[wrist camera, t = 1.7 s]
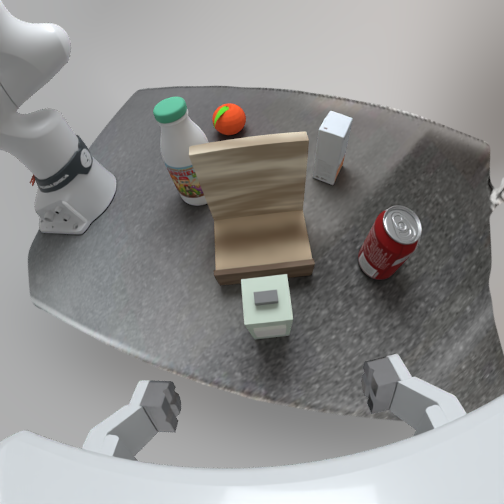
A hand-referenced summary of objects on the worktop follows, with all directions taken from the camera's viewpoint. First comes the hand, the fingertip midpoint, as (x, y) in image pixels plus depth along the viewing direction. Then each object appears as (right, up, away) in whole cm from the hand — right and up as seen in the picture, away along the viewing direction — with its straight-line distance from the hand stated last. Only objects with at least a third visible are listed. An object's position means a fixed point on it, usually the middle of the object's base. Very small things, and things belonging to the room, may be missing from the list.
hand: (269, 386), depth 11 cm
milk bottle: (-10, +17, +41) cm, 46 cm away
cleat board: (+1, +6, +35) cm, 35 cm away
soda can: (+19, +4, +32) cm, 38 cm away
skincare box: (+14, +21, +40) cm, 47 cm away
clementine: (-5, +31, +47) cm, 57 cm away
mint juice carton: (+2, -4, +30) cm, 30 cm away
